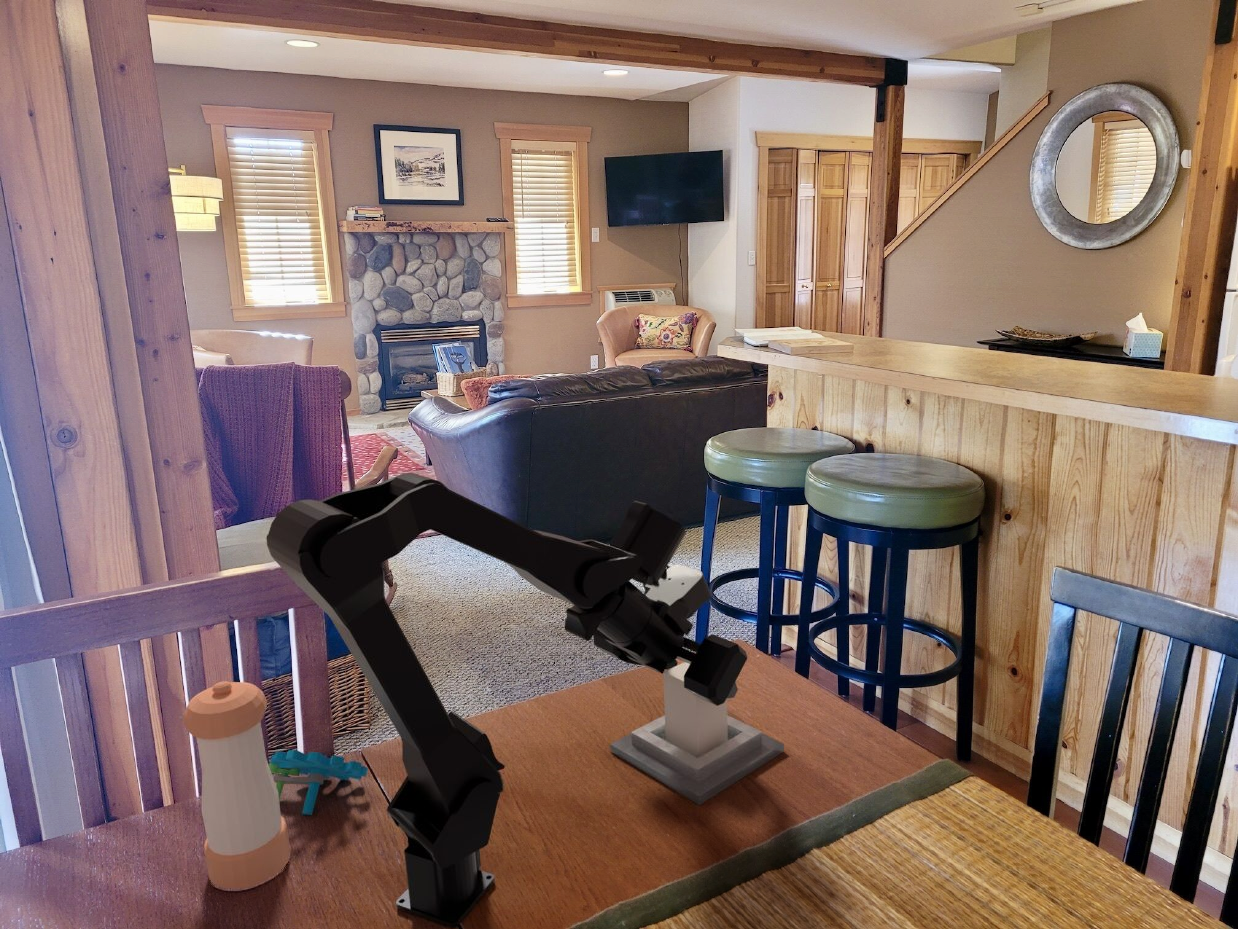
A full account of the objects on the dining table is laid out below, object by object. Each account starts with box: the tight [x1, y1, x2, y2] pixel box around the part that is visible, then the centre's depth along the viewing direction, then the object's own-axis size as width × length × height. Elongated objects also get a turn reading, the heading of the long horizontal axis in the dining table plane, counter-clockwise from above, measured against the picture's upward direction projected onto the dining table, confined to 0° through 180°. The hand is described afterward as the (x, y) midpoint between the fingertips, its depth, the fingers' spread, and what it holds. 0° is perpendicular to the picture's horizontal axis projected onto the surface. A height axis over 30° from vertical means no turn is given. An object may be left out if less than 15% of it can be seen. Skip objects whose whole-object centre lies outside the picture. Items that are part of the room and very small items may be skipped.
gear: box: [268, 749, 369, 816], centre depth 91 cm, size 11×6×10 cm
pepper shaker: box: [182, 680, 292, 889], centre depth 80 cm, size 7×7×19 cm
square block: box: [663, 661, 728, 758], centre depth 97 cm, size 5×5×9 cm
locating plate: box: [609, 714, 785, 806], centre depth 98 cm, size 14×14×2 cm
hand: (703, 679), depth 97 cm, fingers open, 9 cm apart
